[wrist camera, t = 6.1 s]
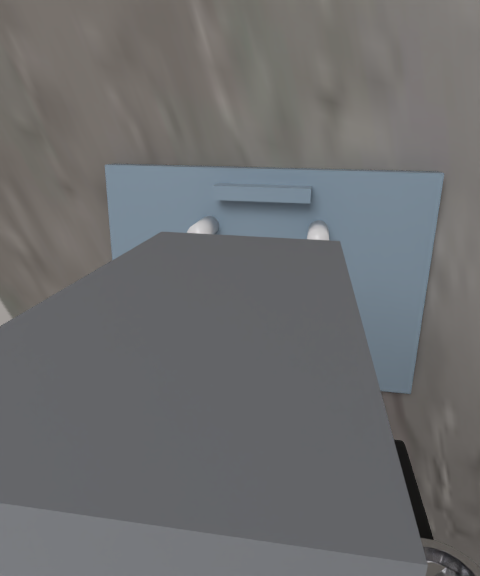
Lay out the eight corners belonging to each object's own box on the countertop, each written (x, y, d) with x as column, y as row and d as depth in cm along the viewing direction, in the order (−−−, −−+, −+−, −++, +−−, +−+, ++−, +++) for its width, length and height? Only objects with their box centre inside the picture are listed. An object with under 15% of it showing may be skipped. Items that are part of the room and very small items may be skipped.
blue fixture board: (438, 171, 26) (459, 178, 22) (407, 384, 31) (419, 421, 27) (113, 163, 29) (80, 168, 25) (127, 358, 34) (102, 387, 30)
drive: (342, 240, 10) (443, 584, 2) (315, 532, 12) (318, 1170, 5) (158, 231, 10) (-268, 478, 3) (168, 511, 13) (-44, 1051, 5)
